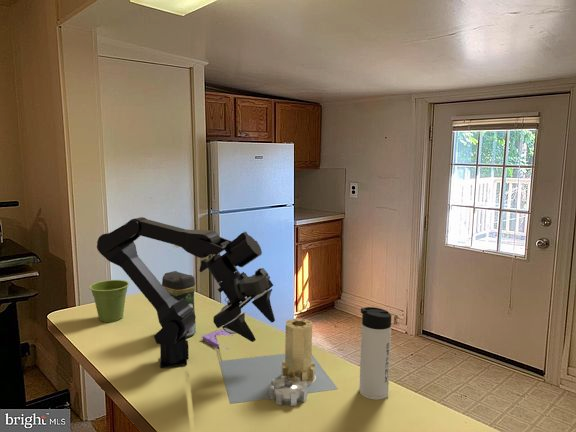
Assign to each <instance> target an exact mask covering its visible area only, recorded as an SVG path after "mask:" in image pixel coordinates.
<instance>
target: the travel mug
mask: <svg viewBox="0 0 576 432" xmlns="http://www.w3.org/2000/svg"><path fill="white" fill-rule="evenodd" d="M360 314H362V316H361V319H362V320H361V338H360V361H359V362H360V363H359V364H360V365H359V366H360V367H359V389H358V390H359V393H360V395H361V396H362V397H365V398H367V399H370V400H384V399H386V401H387V400H389V385H390V365H391V363H390V361H391V342H392V341H391V340H392V314H391V313H389V311H387V310H385V309H383V308H379V307H374V306H367V307H366V306H365V307H361V308H360Z"/></svg>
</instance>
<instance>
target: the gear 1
mask: <svg viewBox="0 0 576 432" xmlns="http://www.w3.org/2000/svg"><path fill="white" fill-rule="evenodd" d="M284 339H285V346H284V347H285V348H284V349H285V351H284V354H285V360H284V361H283V362H282V376H287V378H294V377H299V378H300V381H302V382H306V383H307V382H308V381H311V382H313V381H314V379H315V363H314V362H311V356H312V355H313V353H312V352H313V351H312V350H313V349H312V347H313V321H311V320H308V319H306V318H292V319H289V320H286V321H285V338H284Z"/></svg>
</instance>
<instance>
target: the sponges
mask: <svg viewBox="0 0 576 432" xmlns="http://www.w3.org/2000/svg"><path fill="white" fill-rule="evenodd" d="M217 336H219V337H221V336H227V337H235V336H234V334H230V333H228V332H226V331H225V329H223V328H222V329H219V330H216V331H214V332H210V333H208V334H207V333H206V334H204V335H201V337H202V341H204V342H205V343H207V344H209V345H211V346H213V347H214V348H217V349H218V350H220V346H221V347H222V348H225V349H226V350H229V349H230V348H228V347H225V346H223V345H221V344H220V343H218V338H217Z"/></svg>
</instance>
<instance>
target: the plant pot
mask: <svg viewBox="0 0 576 432" xmlns="http://www.w3.org/2000/svg"><path fill="white" fill-rule="evenodd" d="M129 286H130V282H129V281H126V280H123V279H108V280H102V281H101V280H100V281H97V282H95V283H92V284H90V285H89V290H90V291H91V293H92V296H93V298H94V303H95V308H96V312H97V316H98V321H100V322H105V323H111V322H112V323H113V322H117V321H118V320H122V319H123V318H124V311H125V303H126V296H127V292H128V287H129Z"/></svg>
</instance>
